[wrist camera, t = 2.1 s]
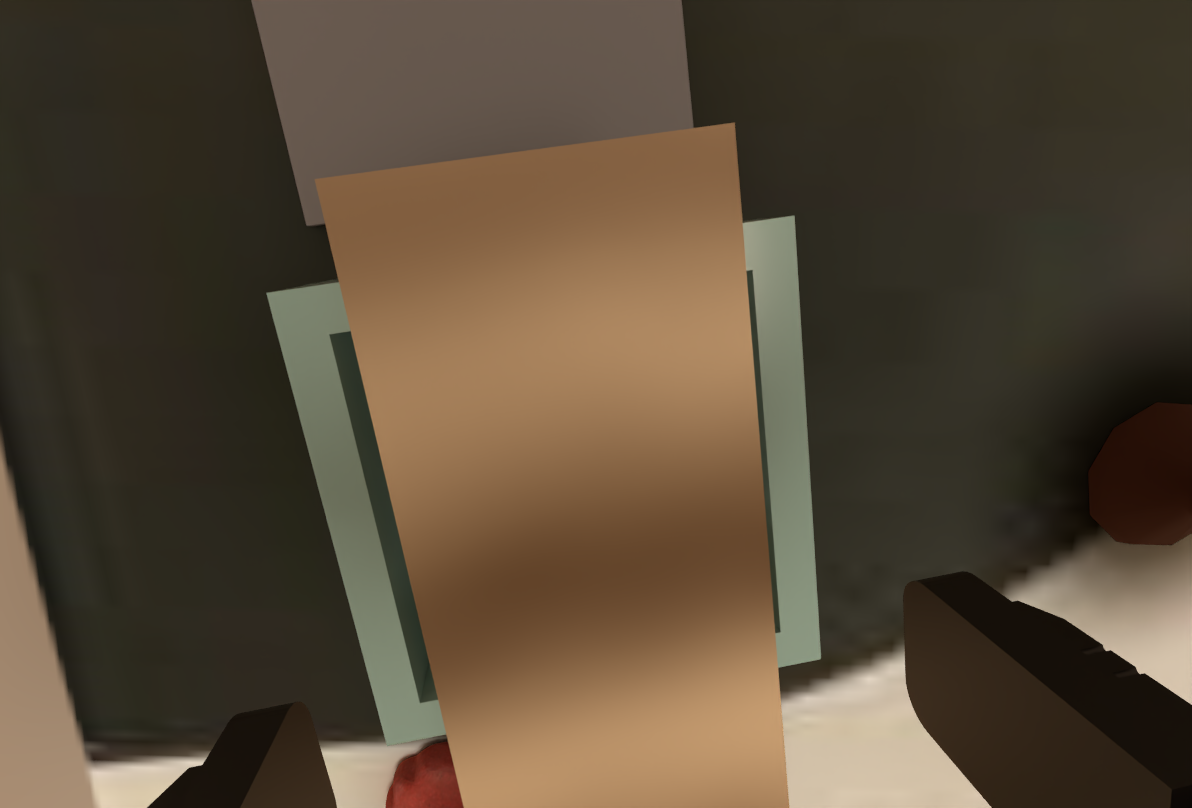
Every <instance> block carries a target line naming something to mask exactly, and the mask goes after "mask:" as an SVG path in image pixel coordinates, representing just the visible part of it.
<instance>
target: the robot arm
mask: <svg viewBox="0 0 1192 808" xmlns="http://www.w3.org/2000/svg"><path fill="white" fill-rule="evenodd" d="M903 607H904V639H905V671H906V685H907V690H908V694H909V697H910V700H911V703H912V706H913V708H914V710H915V713H916V715H917V717H918V718H919V720H920V722H921V724H922V725H923V727H924V728H925V729H926V731H927V732H928V733H929V734H930V736H931V737H932V738H933V739H934V740H935V741H936V743H937V744H938V745H939V746H940V747H941V749H942V750H943V751H944V752H945V753H946V754H947V756H948V757H949V758H950V759H951V760H952V761H953V763H954V764H955V765H956V766H957V767H958V768H959V770H960V771H961V772H962V773H963V774H964V775H965V777H966V778H967V779H968V780H969V781H970V783H971V784H972V785H973V786H974V787H975V788H976V790H977V791H978V792H979V793H980V794H981V795H982V797H983V798H984V799H985V800H986V801H987V802H988V804H989V805H990V806H991V807H992V808H1192V705H1191V704H1189V703H1188V702H1186V701H1185V700H1184V699H1182V698H1181V697H1179V696H1178V695H1176V694H1175V693H1173V692H1172V691H1170V690H1169V689H1167V688H1166V687H1164V686H1163V685H1161V684H1160V683H1158V682H1157V681H1155V680H1154V679H1152V678H1151V677H1149V676H1148V675H1146V674H1145V673H1144V674H1139V673H1138V672H1137V670H1136V667H1135V666H1133V665H1132V664H1130V663H1129V662H1127V661H1126V660H1124V659H1123V658H1121V657H1120V656H1118V655H1117V654H1115V653H1114V652H1112V651H1111V650H1110V651H1105V650H1104V648H1103V645H1102V644H1100V643H1099V642H1097V641H1096V640H1094V639H1093V638H1092V637H1090V636H1089V635H1087V634H1086V633H1084V632H1083V631H1081V630H1080V629H1078V628H1077V627H1075V626H1074V625H1072V624H1071V623H1069V622H1068V621H1066V620H1065V619H1063V618H1060V617H1058V616H1055V615H1053V614H1050V613H1048V612H1045V611H1043V610H1040V609H1037V608H1035V607H1032V606H1030V605H1027V604H1025V603H1022V602H1020V601H1014V602H1011V601H1010V600H1009V599H1007V598H1006V597H1004V596H1003V595H1002V594H1000V593H999V592H997V591H996V590H995V589H993V588H992V587H990V586H989V585H987V584H986V583H985V582H983V581H982V580H980V579H979V578H978V577H976V576H975V575H973V574H971V573H969V572H963V571H962V572H957V573H952V574H947V575H942V576H937V577H932V578H927V579H922V580H917V581H912V582H910V583H908V584H907V586H906V587H905V590H904V595H903ZM147 808H337V806H336V800H335V796H334V793H333V789H332V786H331V783H330V779H329V776H328V772H327V769H326V766H325V762H324V759H323V756H322V752H321V749H320V745H319V742H318V739H317V735H316V732H315V728H314V725H313V722H312V718H311V715H310V713H309V711H308V709H307V707H306V706H305V705H304V704H303V703H302V702H295V703H290V704H285V705H280V706H275V707H270V708H265V709H260V710H254V711H249V712H244V713H239V714H237V715H235V716H234V717H233V718H232V719H231V720H230V721H229V723H228V724H227V726H226V727H225V729H224V731H223V732H222V734H221V736H220V737H219V739H218V741H217V742H216V744H215V745H214V747H213V749H212V750H211V752H210V754H209V755H208V757H207V759H206V760H205V762H204V764H203V765H201V766H196V767H191V768H188V769H187V770H186V771H185V772H184V773H183V774H182V775H181V776H180V777H179V778H178V779H177V780H176V781H175V782H174V783H173V784H172V785H171V786H169V787H168V788H167V789H166V790H165V791H164V792H163V793H162V794H161V795H160V796H159V797H158V798H157V799H156V800H155V801H154V802H153V803H152V804H150V805H149V806H148V807H147Z"/></svg>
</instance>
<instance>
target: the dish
mask: <svg viewBox="0 0 1192 808" xmlns="http://www.w3.org/2000/svg"><path fill="white" fill-rule="evenodd" d="M742 222H743V235H744V247H745V260H746V272H747V285H748V298H749V310H750V323H751V335H752V348H753V360H754V373H755V385H756V398H757V410H758V423H759V435H760V448H761V461H762V473H763V486H764V498H765V511H766V523H767V536H768V548H769V561H770V573H771V586H772V599H773V611H774V624H775V636H776V649H777V661H778V668H779V667H784V666H789V665H794V664H799V663H804V662H809V661H814V660H819V659H821V651H820V634H819V617H818V601H817V584H816V567H815V551H814V534H813V517H812V501H811V484H810V467H809V451H808V434H807V417H806V401H805V384H804V367H803V351H802V334H801V317H800V301H799V284H798V267H797V251H796V234H795V217H794V216H784V217H774V218H764V219H753V220H743V221H742ZM267 297H268V301H269V305H270V308H271V312H272V316H273V320H274V323H275V327H276V331H277V335H278V338H279V342H280V346H281V350H282V353H283V357H284V361H285V365H286V368H287V372H288V376H289V380H290V383H291V387H292V391H293V395H294V398H295V402H296V406H297V410H298V413H299V417H300V421H301V425H302V428H303V432H304V436H305V440H306V443H307V447H308V451H309V455H310V458H311V462H312V466H313V470H314V473H315V477H316V481H317V485H318V488H319V492H320V496H321V500H322V503H323V507H324V511H325V515H326V518H327V522H328V526H329V530H330V533H331V537H332V541H333V545H334V548H335V552H336V556H337V560H338V563H339V567H340V571H341V575H342V578H343V582H344V586H345V590H346V594H347V597H348V601H349V605H350V609H351V612H352V616H353V620H354V624H355V627H356V631H357V635H358V639H359V642H360V646H361V650H362V654H363V657H364V661H365V665H366V669H367V672H368V676H369V680H370V684H371V687H372V691H373V695H374V699H375V702H376V706H377V710H378V714H379V717H380V721H381V725H382V729H383V732H384V736H385V740H386V744H387V746H390V745H395V744H400V743H405V742H410V741H415V740H420V739H425V738H430V737H435V736H440V735H445V734H446V731H445V726H444V722H443V718H442V714H441V710H440V705H439V701H438V697H437V693H436V688H435V684H434V680H433V676H432V672H431V667H430V663H429V659H428V655H427V651H426V646H425V642H424V638H423V634H422V629H421V625H420V621H419V617H418V613H417V608H416V604H415V600H414V596H413V592H412V587H411V583H410V579H409V575H408V570H407V566H406V562H405V558H404V554H403V549H402V545H401V541H400V537H399V533H398V528H397V524H396V520H395V516H394V512H393V507H392V503H391V499H390V495H389V490H388V486H387V482H386V478H385V474H384V469H383V465H382V461H381V457H380V453H379V448H378V444H377V440H376V436H375V431H374V427H373V423H372V419H371V415H370V410H369V406H368V402H367V398H366V394H365V389H364V385H363V381H362V377H361V373H360V368H359V364H358V360H357V356H356V351H355V347H354V343H353V339H352V335H351V330H350V326H349V322H348V318H347V314H346V309H345V305H344V301H343V297H342V292H341V288H340V284H339V280H338V279H333V280H328V281H323V282H318V283H313V284H308V285H303V286H298V287H293V288H288V289H284V290H279V291H274V292H269V293H267Z"/></svg>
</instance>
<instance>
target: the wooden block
mask: <svg viewBox="0 0 1192 808" xmlns="http://www.w3.org/2000/svg"><path fill="white" fill-rule="evenodd" d="M315 183H316V187H317V191H318V196H319V200H320V204H321V208H322V212H323V217H324V221H325V225H326V229H327V234H328V238H329V242H330V246H331V250H332V255H333V259H334V263H335V267H336V271H337V276H338V280H339V284H340V288H341V292H342V297H343V301H344V305H345V309H346V314H347V318H348V322H349V326H350V330H351V335H352V339H353V343H354V347H355V351H356V356H357V360H358V364H359V368H360V373H361V377H362V381H363V385H364V389H365V394H366V398H367V402H368V406H369V410H370V415H371V419H372V423H373V427H374V431H375V436H376V440H377V444H378V448H379V453H380V457H381V461H382V465H383V469H384V474H385V478H386V482H387V486H388V490H389V495H390V499H391V503H392V507H393V512H394V516H395V520H396V524H397V528H398V533H399V537H400V541H401V545H402V549H403V554H404V558H405V562H406V566H407V570H408V575H409V579H410V583H411V587H412V592H413V596H414V600H415V604H416V608H417V613H418V617H419V621H420V625H421V629H422V634H423V638H424V642H425V646H426V651H427V655H428V659H429V663H430V667H431V672H432V676H433V680H434V684H435V688H436V693H437V697H438V701H439V705H440V710H441V714H442V718H443V722H444V726H445V731H446V735H447V739H448V743H449V747H450V752H451V756H452V760H453V764H454V768H455V773H456V777H457V781H458V785H459V790H460V794H461V798H462V802H463V806H464V808H789V799H788V787H787V774H786V762H785V749H784V736H783V724H782V711H781V699H780V686H779V674H778V661H777V649H776V636H775V624H774V611H773V599H772V586H771V573H770V561H769V548H768V536H767V523H766V511H765V498H764V486H763V473H762V461H761V448H760V435H759V423H758V410H757V398H756V385H755V373H754V360H753V348H752V335H751V323H750V310H749V298H748V285H747V272H746V260H745V247H744V235H743V222H742V210H741V197H740V185H739V172H738V160H737V147H736V134H735V123H728V124H721V125H714V126H706V127H699V128H691V129H684V130H676V131H669V132H662V133H654V134H647V135H639V136H632V137H624V138H617V139H609V140H602V141H595V142H587V143H580V144H572V145H565V146H557V147H550V148H543V149H535V150H528V151H520V152H513V153H505V154H498V155H490V156H483V157H476V158H468V159H461V160H453V161H446V162H438V163H431V164H424V165H416V166H409V167H401V168H394V169H386V170H379V171H371V172H364V173H357V174H349V175H342V176H334V177H327V178H319V179H315Z"/></svg>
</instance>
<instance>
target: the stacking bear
mask: <svg viewBox="0 0 1192 808" xmlns="http://www.w3.org/2000/svg"><path fill="white" fill-rule="evenodd" d="M386 808H464V806H463V802H462V798H461V794H460V790H459V785H458V781H457V777H456V773H455V768H454V764H453V760H452V756H451V752H450V747H449V743H448V742H443V743H437V744H433V745H431V746H429V747H427V748H425V749H424V750H422V751H421V752H420V753H419V754H418V755H416V756H413V757H410V758H408V759H406V760H404V761H402V762H401V763H400V764H399V766H398V768H397V770H396V772H395V775H394V782H393V784H392V786H391V787H390V789H389V792H388V794H387V800H386Z"/></svg>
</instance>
